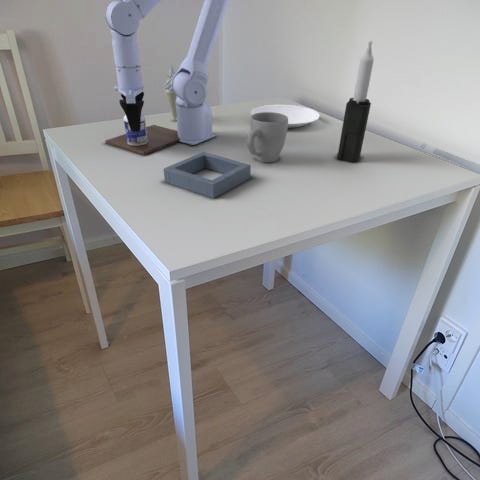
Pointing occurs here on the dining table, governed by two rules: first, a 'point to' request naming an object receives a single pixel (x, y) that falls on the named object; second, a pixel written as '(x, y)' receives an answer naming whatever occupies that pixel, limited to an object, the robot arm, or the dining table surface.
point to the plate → (290, 113)
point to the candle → (357, 112)
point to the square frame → (185, 179)
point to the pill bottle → (136, 133)
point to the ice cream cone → (171, 92)
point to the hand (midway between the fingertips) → (135, 127)
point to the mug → (267, 135)
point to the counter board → (156, 140)
